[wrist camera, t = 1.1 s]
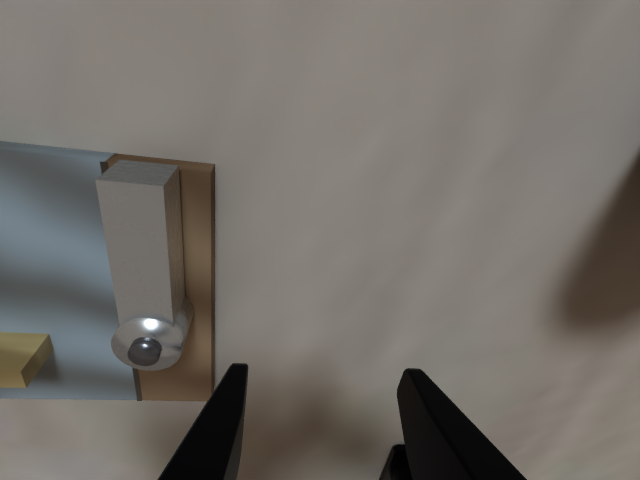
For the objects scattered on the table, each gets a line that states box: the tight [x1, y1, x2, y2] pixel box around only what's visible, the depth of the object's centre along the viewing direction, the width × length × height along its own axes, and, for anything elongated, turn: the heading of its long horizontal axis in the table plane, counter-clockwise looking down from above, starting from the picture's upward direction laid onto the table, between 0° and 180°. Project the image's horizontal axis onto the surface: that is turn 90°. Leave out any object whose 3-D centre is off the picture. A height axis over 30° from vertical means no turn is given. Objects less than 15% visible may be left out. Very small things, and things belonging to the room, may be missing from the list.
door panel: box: [0, 141, 215, 401], centre depth 19 cm, size 16×14×4 cm
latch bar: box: [95, 159, 193, 371], centre depth 17 cm, size 10×3×3 cm, turn 172°
